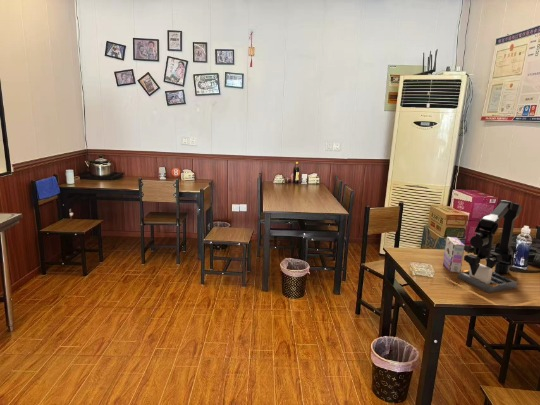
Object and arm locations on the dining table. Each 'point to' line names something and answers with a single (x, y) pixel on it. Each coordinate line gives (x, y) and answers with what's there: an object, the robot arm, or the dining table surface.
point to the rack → (495, 285)
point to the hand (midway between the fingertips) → (480, 273)
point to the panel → (483, 274)
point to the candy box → (453, 254)
